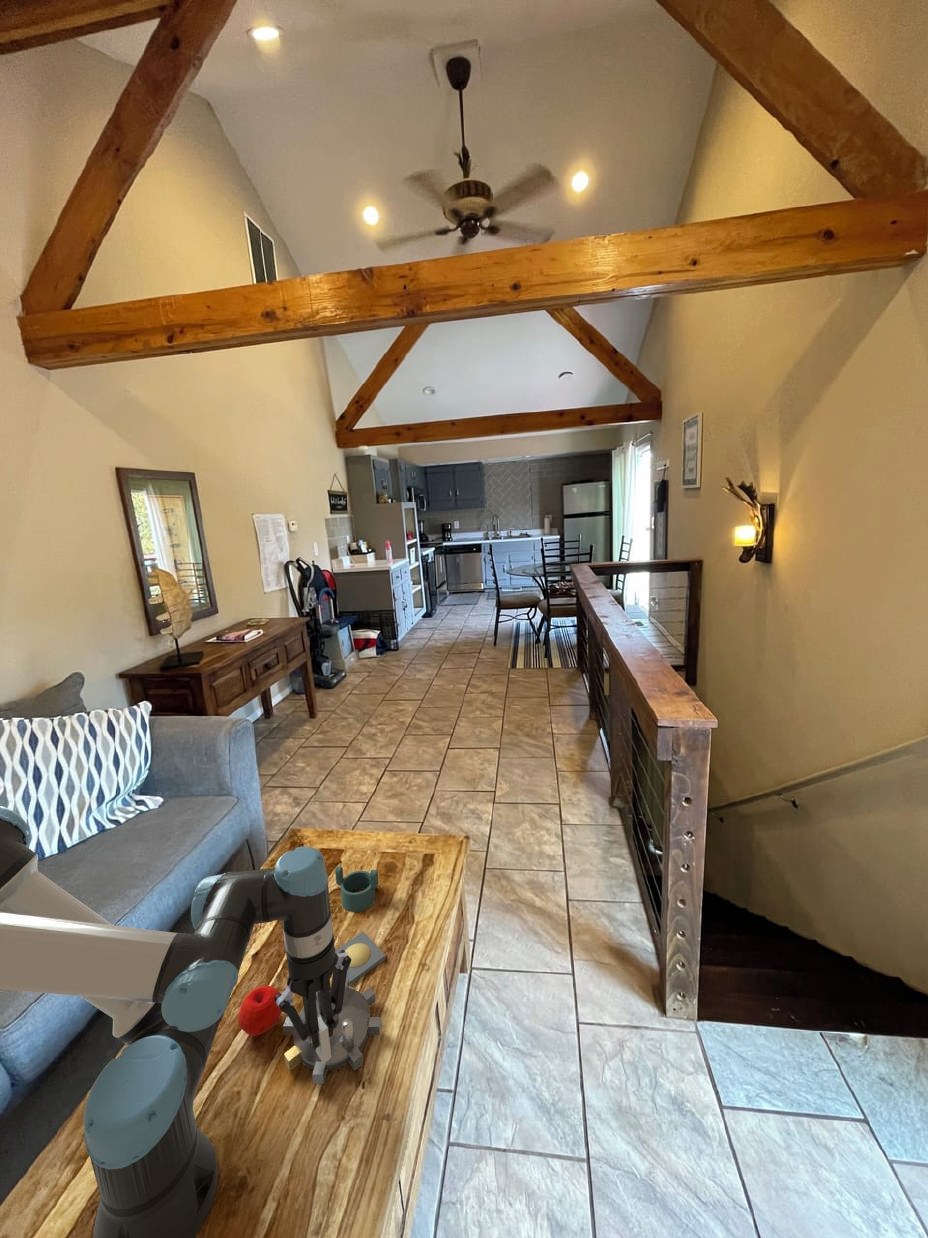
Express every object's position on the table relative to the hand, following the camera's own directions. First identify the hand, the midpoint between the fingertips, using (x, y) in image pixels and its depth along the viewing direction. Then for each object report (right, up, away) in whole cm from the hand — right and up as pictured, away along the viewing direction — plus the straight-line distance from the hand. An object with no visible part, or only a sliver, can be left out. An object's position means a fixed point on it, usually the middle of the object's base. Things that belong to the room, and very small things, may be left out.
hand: (323, 1054), depth 87 cm
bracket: (-2, +4, +42) cm, 42 cm away
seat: (+1, 0, +24) cm, 24 cm away
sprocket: (0, -3, +8) cm, 9 cm away
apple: (-14, -4, +10) cm, 18 cm away
